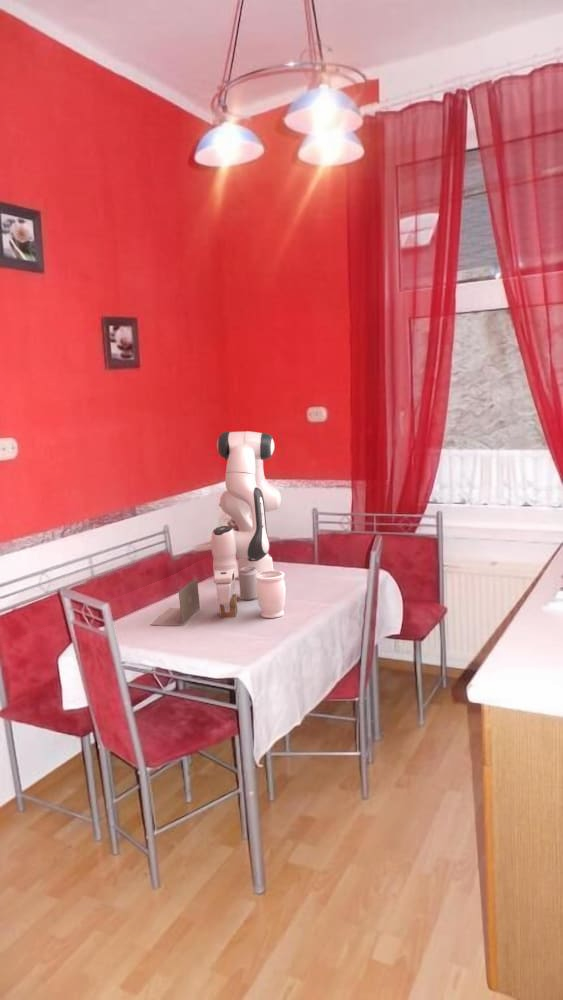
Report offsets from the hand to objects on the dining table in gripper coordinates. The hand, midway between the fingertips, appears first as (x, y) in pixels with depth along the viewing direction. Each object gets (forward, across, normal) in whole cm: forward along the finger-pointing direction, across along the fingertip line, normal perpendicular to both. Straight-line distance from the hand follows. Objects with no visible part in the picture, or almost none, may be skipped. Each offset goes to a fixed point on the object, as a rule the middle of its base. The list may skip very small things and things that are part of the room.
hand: (228, 608), depth 259 cm
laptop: (+3, 0, -20) cm, 20 cm away
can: (+3, -19, +6) cm, 20 cm away
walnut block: (+2, 0, 0) cm, 2 cm away
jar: (+2, +2, +16) cm, 16 cm away
